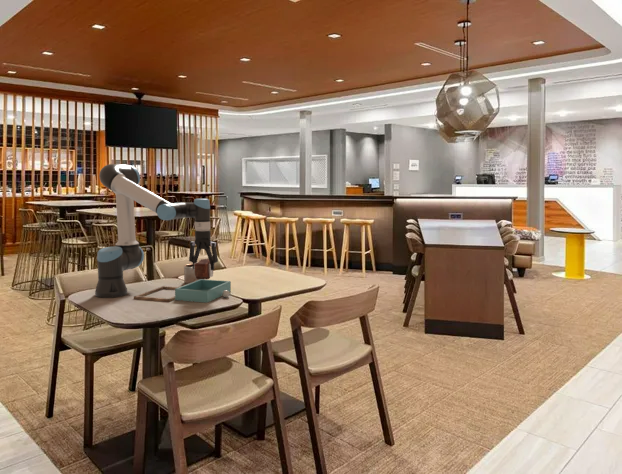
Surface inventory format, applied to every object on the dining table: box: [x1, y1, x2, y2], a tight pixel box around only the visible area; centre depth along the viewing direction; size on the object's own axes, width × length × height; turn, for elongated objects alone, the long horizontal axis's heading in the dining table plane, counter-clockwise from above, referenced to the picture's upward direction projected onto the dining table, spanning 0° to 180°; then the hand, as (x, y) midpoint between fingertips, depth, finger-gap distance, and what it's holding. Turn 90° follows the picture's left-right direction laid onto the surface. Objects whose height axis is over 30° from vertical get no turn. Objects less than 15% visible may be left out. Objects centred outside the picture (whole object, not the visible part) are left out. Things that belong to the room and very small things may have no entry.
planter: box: [183, 263, 200, 285], centre depth 294 cm, size 11×11×10 cm
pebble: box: [222, 290, 231, 298], centre depth 259 cm, size 4×4×4 cm
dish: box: [174, 279, 232, 303], centre depth 262 cm, size 17×25×5 cm
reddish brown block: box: [195, 258, 211, 280], centre depth 262 cm, size 18×6×9 cm, turn 1°
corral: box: [133, 285, 180, 303], centre depth 264 cm, size 19×25×1 cm
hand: (203, 276), depth 261 cm, fingers closed on reddish brown block, 7 cm apart
